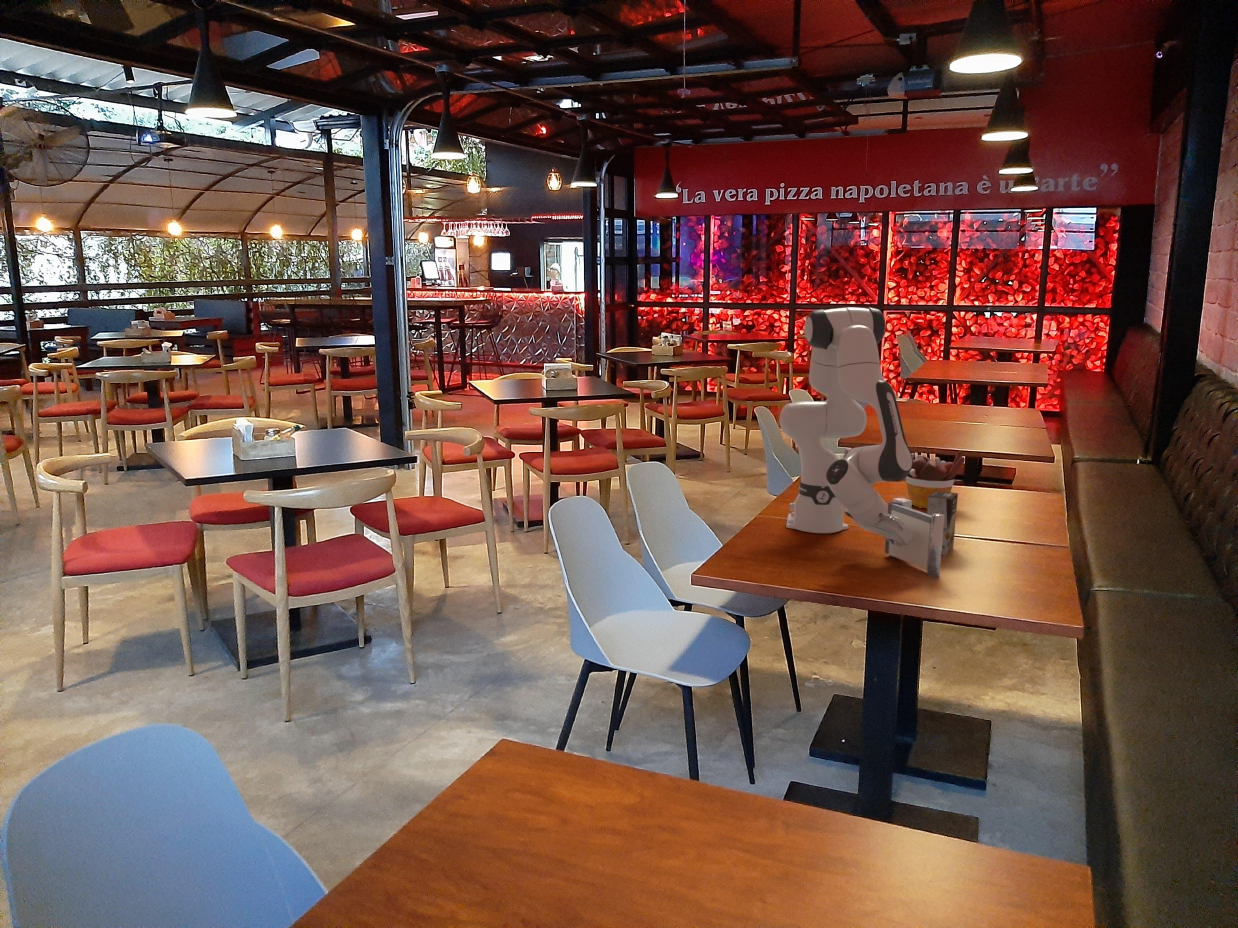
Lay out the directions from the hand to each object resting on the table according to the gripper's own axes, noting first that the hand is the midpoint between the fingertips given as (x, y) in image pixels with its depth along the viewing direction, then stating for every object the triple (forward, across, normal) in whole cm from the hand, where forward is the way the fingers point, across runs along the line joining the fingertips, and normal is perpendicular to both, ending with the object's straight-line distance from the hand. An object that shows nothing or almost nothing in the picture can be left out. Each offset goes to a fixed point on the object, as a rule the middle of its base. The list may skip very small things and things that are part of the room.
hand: (897, 543), depth 241 cm
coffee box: (+17, +6, -10) cm, 20 cm away
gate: (+4, -3, +2) cm, 5 cm away
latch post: (+6, +4, +1) cm, 8 cm away
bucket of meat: (+41, +50, -34) cm, 73 cm away
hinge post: (+5, -13, +3) cm, 14 cm away
